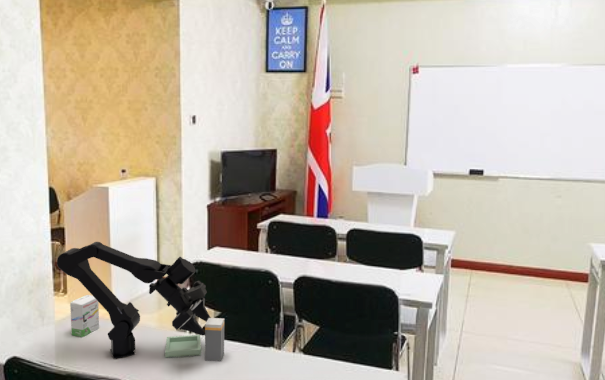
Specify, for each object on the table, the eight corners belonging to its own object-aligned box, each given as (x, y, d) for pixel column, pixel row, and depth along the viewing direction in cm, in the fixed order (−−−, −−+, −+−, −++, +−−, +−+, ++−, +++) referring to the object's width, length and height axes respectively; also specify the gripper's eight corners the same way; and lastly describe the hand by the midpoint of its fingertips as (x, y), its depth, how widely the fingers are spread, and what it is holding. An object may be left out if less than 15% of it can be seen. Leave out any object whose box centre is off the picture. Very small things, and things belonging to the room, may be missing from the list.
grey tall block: (204, 360, 160) (204, 324, 158) (208, 353, 165) (208, 317, 163) (221, 361, 159) (221, 325, 158) (224, 353, 164) (224, 318, 163)
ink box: (82, 337, 173) (81, 304, 171) (70, 335, 174) (69, 302, 173) (100, 327, 181) (98, 296, 179) (88, 325, 182) (87, 294, 181)
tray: (165, 358, 160) (165, 352, 160) (166, 342, 171) (166, 336, 171) (200, 355, 163) (200, 349, 163) (200, 340, 173) (200, 334, 173)
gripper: (182, 286, 149) (219, 323, 150) (198, 267, 168) (231, 300, 169) (156, 311, 151) (193, 348, 152) (174, 289, 169) (208, 322, 170)
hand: (207, 328), depth 161 cm, fingers open, 9 cm apart
